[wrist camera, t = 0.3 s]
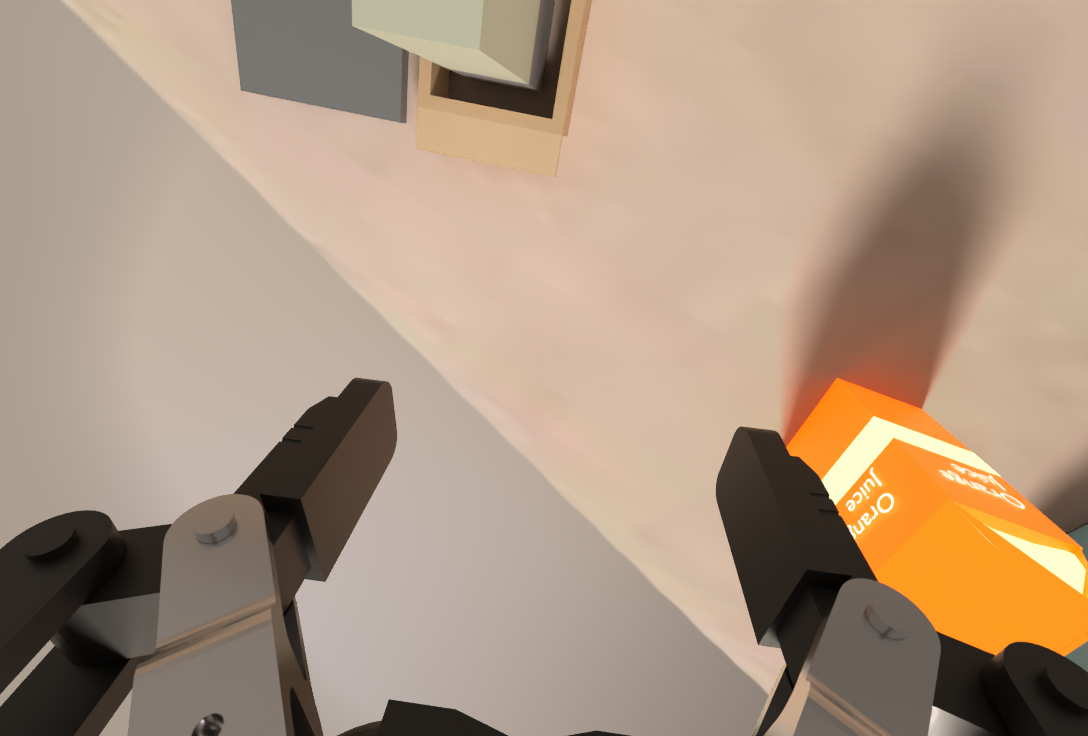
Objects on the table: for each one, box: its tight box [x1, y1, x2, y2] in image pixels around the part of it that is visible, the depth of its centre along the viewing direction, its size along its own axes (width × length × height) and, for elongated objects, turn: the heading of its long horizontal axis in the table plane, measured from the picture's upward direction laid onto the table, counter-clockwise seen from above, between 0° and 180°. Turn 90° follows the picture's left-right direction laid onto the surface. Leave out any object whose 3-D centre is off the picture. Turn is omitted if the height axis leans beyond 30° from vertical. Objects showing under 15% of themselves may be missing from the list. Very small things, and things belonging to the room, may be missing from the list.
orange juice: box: [786, 378, 1088, 656], centre depth 30 cm, size 8×9×20 cm
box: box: [352, 0, 554, 93], centre depth 23 cm, size 5×5×16 cm
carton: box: [416, 0, 592, 177], centre depth 29 cm, size 15×10×4 cm, turn 170°
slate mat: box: [231, 0, 409, 123], centre depth 31 cm, size 12×12×1 cm
